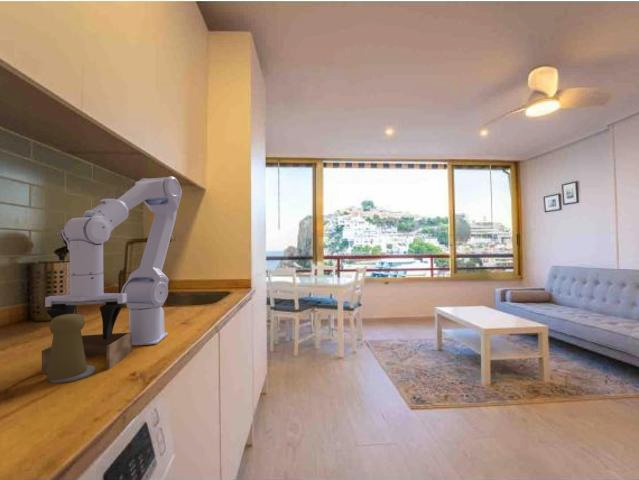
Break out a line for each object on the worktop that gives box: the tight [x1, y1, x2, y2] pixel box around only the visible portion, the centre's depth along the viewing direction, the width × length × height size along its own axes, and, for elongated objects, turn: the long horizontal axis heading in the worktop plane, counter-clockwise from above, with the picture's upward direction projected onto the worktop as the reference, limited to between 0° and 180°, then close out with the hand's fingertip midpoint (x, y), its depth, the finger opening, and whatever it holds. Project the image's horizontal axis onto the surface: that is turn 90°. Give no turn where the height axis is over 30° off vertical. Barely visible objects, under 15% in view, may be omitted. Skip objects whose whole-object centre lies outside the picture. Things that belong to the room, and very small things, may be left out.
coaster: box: [48, 364, 96, 384], centre depth 61 cm, size 7×7×1 cm
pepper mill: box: [46, 313, 88, 381], centre depth 60 cm, size 6×6×11 cm
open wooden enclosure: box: [41, 332, 133, 375], centre depth 68 cm, size 10×12×4 cm
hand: (87, 339), depth 67 cm, fingers open, 7 cm apart
